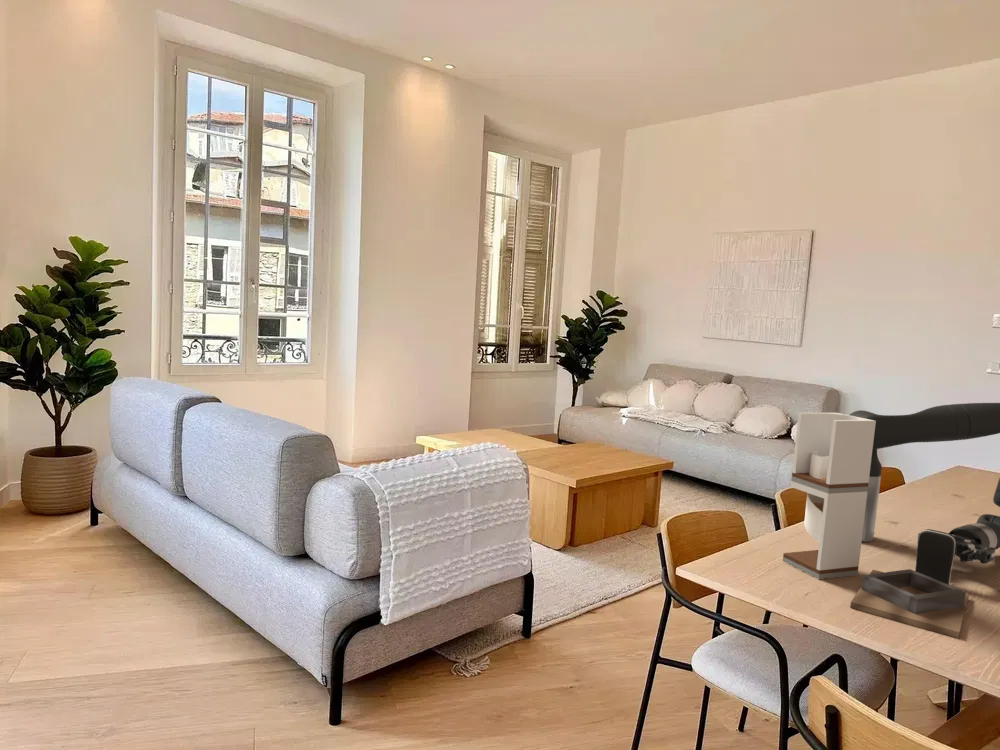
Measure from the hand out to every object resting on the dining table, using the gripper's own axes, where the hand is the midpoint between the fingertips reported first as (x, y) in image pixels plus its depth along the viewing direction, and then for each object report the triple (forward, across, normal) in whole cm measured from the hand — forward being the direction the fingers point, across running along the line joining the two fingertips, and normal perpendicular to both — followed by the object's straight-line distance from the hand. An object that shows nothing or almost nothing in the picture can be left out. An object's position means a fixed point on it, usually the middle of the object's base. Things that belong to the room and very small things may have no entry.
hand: (941, 551), depth 155 cm
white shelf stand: (+19, -17, +7) cm, 26 cm away
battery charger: (+2, 0, +7) cm, 7 cm away
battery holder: (+20, +4, +7) cm, 21 cm away
